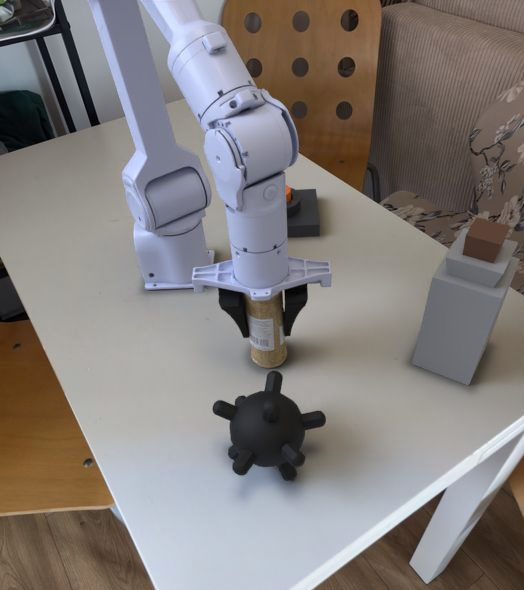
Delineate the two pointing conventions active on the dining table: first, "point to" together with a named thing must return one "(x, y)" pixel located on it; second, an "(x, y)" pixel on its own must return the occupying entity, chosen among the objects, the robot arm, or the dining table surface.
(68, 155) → the dining table surface
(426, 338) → the perfume bottle
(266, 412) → the toy ball
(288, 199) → the button
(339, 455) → the dining table surface
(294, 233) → the control block
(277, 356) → the spice jar
